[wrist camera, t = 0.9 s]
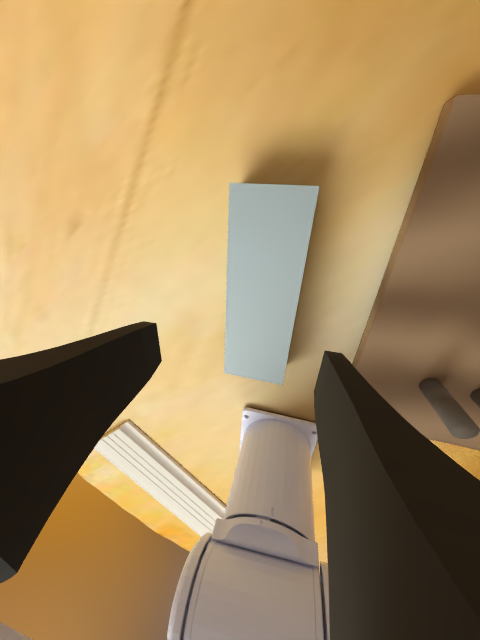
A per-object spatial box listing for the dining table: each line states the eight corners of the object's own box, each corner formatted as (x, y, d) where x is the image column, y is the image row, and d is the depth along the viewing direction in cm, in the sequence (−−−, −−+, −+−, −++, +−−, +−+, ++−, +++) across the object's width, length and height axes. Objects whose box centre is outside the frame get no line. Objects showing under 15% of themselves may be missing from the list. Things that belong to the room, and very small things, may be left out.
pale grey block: (284, 363, 21) (282, 385, 18) (233, 353, 22) (224, 373, 19) (315, 190, 14) (319, 185, 12) (241, 188, 15) (229, 182, 13)
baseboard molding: (137, 412, 30) (98, 436, 35) (122, 431, 27) (83, 454, 33) (276, 538, 36) (225, 543, 41) (274, 564, 33) (220, 564, 39)
